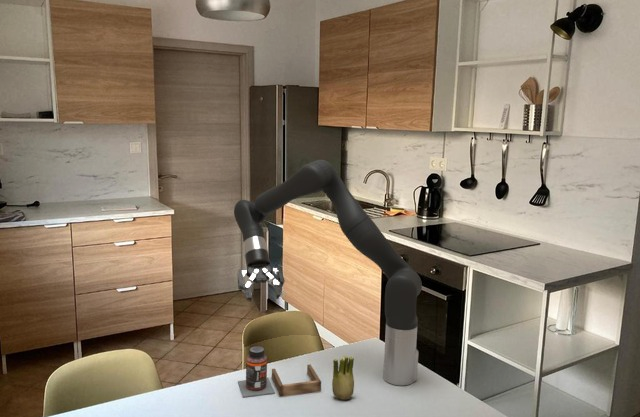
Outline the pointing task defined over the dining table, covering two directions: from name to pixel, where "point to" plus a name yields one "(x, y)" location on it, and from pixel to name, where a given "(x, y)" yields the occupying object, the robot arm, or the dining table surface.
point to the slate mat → (252, 393)
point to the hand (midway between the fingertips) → (264, 299)
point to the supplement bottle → (256, 369)
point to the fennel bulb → (343, 378)
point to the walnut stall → (297, 384)
